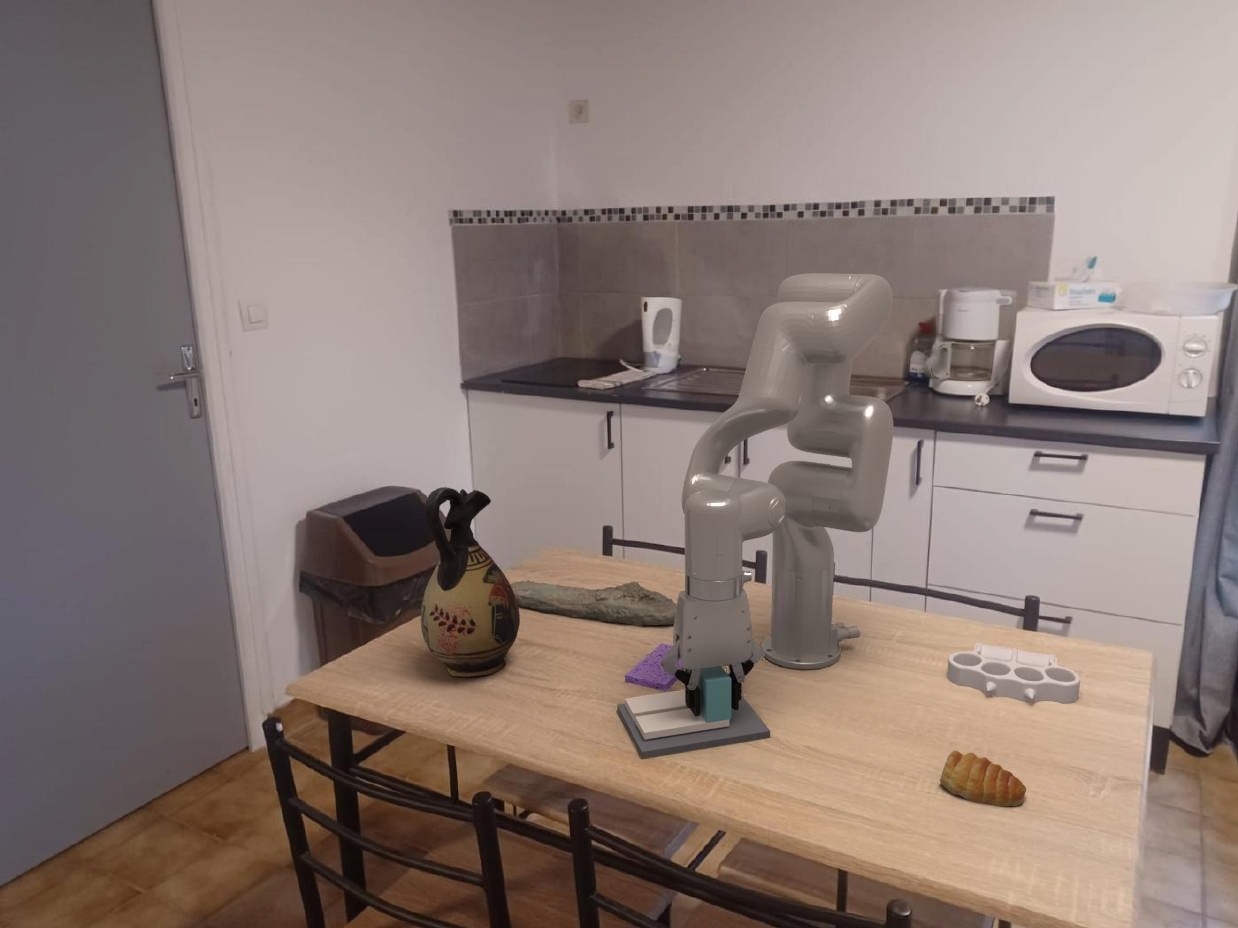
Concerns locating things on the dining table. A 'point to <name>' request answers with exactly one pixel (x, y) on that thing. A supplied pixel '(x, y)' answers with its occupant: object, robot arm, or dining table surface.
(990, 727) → the dining table surface
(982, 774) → the pastry
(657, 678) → the sponges
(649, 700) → the ticket
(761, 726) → the mat
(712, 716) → the stub
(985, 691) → the knuckle duster
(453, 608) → the ceramic jug
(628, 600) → the elongated rock
